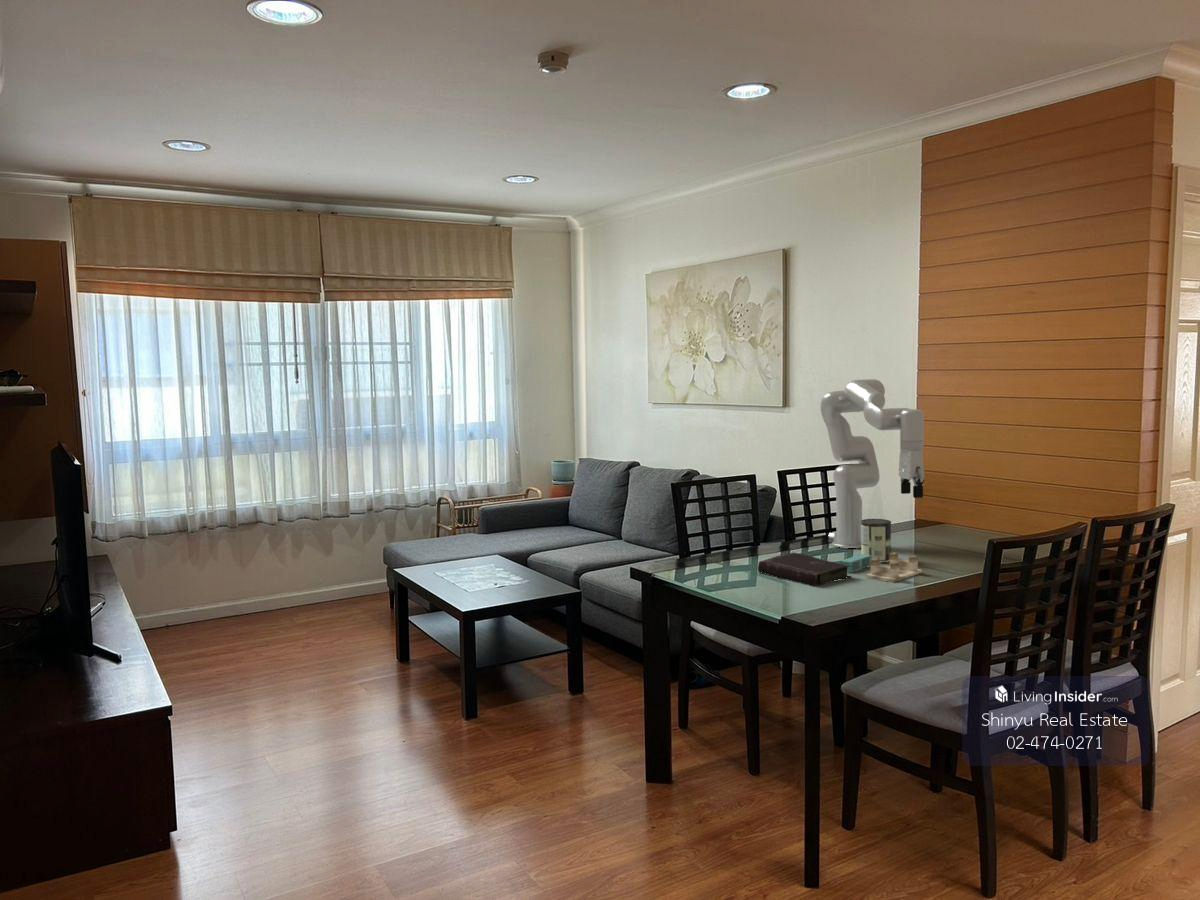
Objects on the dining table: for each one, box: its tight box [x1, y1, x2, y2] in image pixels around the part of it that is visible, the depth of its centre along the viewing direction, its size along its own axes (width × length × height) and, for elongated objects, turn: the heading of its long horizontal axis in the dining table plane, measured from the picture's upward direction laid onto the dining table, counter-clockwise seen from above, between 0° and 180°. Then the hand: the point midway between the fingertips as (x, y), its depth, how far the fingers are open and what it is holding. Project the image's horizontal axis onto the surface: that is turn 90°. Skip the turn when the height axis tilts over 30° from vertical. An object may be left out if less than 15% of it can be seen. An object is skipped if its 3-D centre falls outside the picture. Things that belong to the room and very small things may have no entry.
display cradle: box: [865, 552, 923, 584], centre depth 284 cm, size 10×18×6 cm, turn 132°
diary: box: [757, 552, 852, 587], centre depth 288 cm, size 19×25×5 cm
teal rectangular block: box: [840, 553, 871, 574], centre depth 295 cm, size 4×14×4 cm, turn 133°
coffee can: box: [860, 518, 892, 564], centre depth 306 cm, size 10×10×14 cm
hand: (911, 495), depth 294 cm, fingers open, 9 cm apart
